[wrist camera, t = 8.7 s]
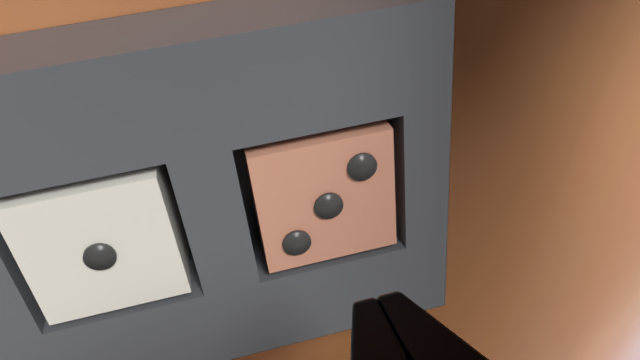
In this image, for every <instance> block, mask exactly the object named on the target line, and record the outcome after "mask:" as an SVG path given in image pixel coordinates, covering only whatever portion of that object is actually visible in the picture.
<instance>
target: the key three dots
mask: <svg viewBox="0 0 640 360" xmlns="http://www.w3.org/2000/svg"><path fill="white" fill-rule="evenodd" d="M242 150H243V155H244V160H245V165H246V170H247V175H248V180H249V185H250V190H251V195H252V200H253V205H254V210H255V215H256V220H257V225H258V229H259V233H260V237H261V241H262V245H263V250H264V254H265V258H266V262H267V266H268V270H269V274H270V273H274V272H278V271H282V270H286V269H291V268H295V267H299V266H303V265H308V264H312V263H316V262H320V261H325V260H329V259H333V258H337V257H342V256H346V255H350V254H354V253H359V252H363V251H367V250H371V249H376V248H380V247H384V246H388V245H393V244H397V236H396V203H395V170H394V136H393V128H392V127H391V125H390V124H389V123H388V122H387V120H381V121H376V122H371V123H366V124H361V125H356V126H351V127H346V128H341V129H336V130H331V131H326V132H321V133H316V134H311V135H307V136H302V137H297V138H292V139H287V140H282V141H277V142H272V143H267V144H262V145H257V146H252V147H247V148H242Z"/></svg>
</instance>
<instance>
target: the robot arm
mask: <svg viewBox="0 0 640 360" xmlns="http://www.w3.org/2000/svg"><path fill="white" fill-rule="evenodd" d="M351 360H489V359H487V358H486V357H485V356H483V355H482V354H481V353H479V352H478V351H477V350H476V349H474V348H473V347H472V346H470V345H469V344H468V343H466V342H465V341H464V340H463V339H461V338H460V337H459V336H457V335H456V334H455V333H453V332H452V331H451V330H450V329H448V328H447V327H446V326H444V325H443V324H442V323H440V322H439V321H438V320H437V319H435V318H434V317H433V316H431V315H430V314H429V313H427V312H426V311H425V310H424V309H422V308H421V307H420V306H418V305H417V304H416V303H414V302H413V301H412V300H411V299H409V298H408V297H407V296H405V295H404V294H403V293H401V292H399V291H395V292H391V293H387V294H383V295H379V296H378V297H377V299H375V298H373V297H371V298H367V299H363V300H359V301H356V302H354V303H353V306H352V332H351Z"/></svg>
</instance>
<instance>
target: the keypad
mask: <svg viewBox="0 0 640 360" xmlns="http://www.w3.org/2000/svg"><path fill="white" fill-rule="evenodd" d="M454 20H455V0H216V1H210V2H204V3H198V4H192V5H186V6H180V7H173V8H167V9H161V10H155V11H149V12H143V13H137V14H130V15H124V16H118V17H112V18H106V19H100V20H94V21H88V22H81V23H75V24H69V25H63V26H57V27H51V28H45V29H38V30H32V31H26V32H20V33H14V34H8V35H2V36H0V197H5V196H10V195H15V194H20V193H25V192H29V191H34V190H39V189H44V188H49V187H54V186H59V185H64V184H69V183H74V182H79V181H84V180H89V179H94V178H99V177H104V176H109V175H114V174H119V173H123V172H128V171H133V170H138V169H143V168H148V167H153V166H158V165H163V164H166V166H167V170H168V173H169V176H170V180H171V183H172V187H173V190H174V194H175V197H176V200H177V204H178V207H179V211H180V214H181V218H182V221H183V224H184V228H185V231H186V235H187V238H188V246H189V261H190V276H191V292H190V293H185V294H181V295H177V296H173V297H169V298H164V299H160V300H156V301H152V302H147V303H143V304H139V305H135V306H130V307H126V308H122V309H118V310H113V311H109V312H105V313H101V314H96V315H92V316H88V317H84V318H80V319H75V320H71V321H67V322H63V323H58V324H54V325H50V326H49V324H48V322H47V320H46V318H45V316H44V314H43V312H42V310H41V308H40V307H39V305H38V303H37V301H36V299H35V297H34V295H33V293H32V291H31V289H30V287H29V285H28V284H27V282H26V280H25V278H24V276H23V274H22V272H21V270H20V268H19V266H18V264H17V262H16V261H15V259H14V257H13V255H12V253H11V251H10V249H9V247H8V245H7V243H6V241H5V239H4V238H3V236H2V234H1V232H0V360H231V359H235V358H239V357H243V356H247V355H251V354H255V353H259V352H263V351H267V350H271V349H274V348H278V347H282V346H286V345H290V344H294V343H298V342H302V341H306V340H310V339H314V338H317V337H321V336H325V335H329V334H333V333H337V332H341V331H345V330H349V329H352V306H353V303H354V302H356V301H359V300H363V299H367V298H371V297H373V298H375V299H377V297H378V296H379V295H383V294H387V293H391V292H395V291H399V292H401V293H403V294H404V295H405V296H407V297H408V298H409V299H411V300H412V301H413V302H414V303H416V304H417V305H418V306H420V307H421V308H422V309H424V310H427V309H431V308H435V307H439V306H443V305H445V289H446V259H447V229H448V199H449V169H450V139H451V109H452V80H453V50H454ZM381 120H387V122H388V123H389V124H390V125H391V127H392V128H393V136H394V170H395V203H396V236H397V244H393V245H388V246H384V247H380V248H376V249H371V250H367V251H363V252H359V253H354V254H350V255H346V256H342V257H337V258H333V259H329V260H325V261H320V262H316V263H312V264H308V265H303V266H299V267H295V268H291V269H286V270H282V271H278V272H274V273H270V274H269V270H268V266H267V262H266V258H265V254H264V250H263V245H262V241H261V237H260V233H259V229H258V225H257V220H256V215H255V210H254V205H253V200H252V195H251V190H250V185H249V180H248V175H247V170H246V165H245V160H244V155H243V150H242V148H247V147H252V146H257V145H262V144H267V143H272V142H277V141H282V140H287V139H292V138H297V137H302V136H307V135H311V134H316V133H321V132H326V131H331V130H336V129H341V128H346V127H351V126H356V125H361V124H366V123H371V122H376V121H381Z"/></svg>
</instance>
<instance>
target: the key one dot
mask: <svg viewBox="0 0 640 360" xmlns="http://www.w3.org/2000/svg"><path fill="white" fill-rule="evenodd" d="M0 232H1V234H2V236H3V238H4V239H5V241H6V243H7V245H8V247H9V249H10V251H11V253H12V255H13V257H14V259H15V261H16V262H17V264H18V266H19V268H20V270H21V272H22V274H23V276H24V278H25V280H26V282H27V284H28V285H29V287H30V289H31V291H32V293H33V295H34V297H35V299H36V301H37V303H38V305H39V307H40V308H41V310H42V312H43V314H44V316H45V318H46V320H47V322H48V324H49V326H50V325H54V324H58V323H63V322H67V321H71V320H75V319H80V318H84V317H88V316H92V315H96V314H101V313H105V312H109V311H113V310H118V309H122V308H126V307H130V306H135V305H139V304H143V303H147V302H152V301H156V300H160V299H164V298H169V297H173V296H177V295H181V294H185V293H190V292H191V276H190V261H189V246H188V238H187V235H186V231H185V228H184V224H183V221H182V218H181V214H180V211H179V207H178V204H177V200H176V197H175V194H174V190H173V187H172V183H171V180H170V176H169V173H168V170H167V166H166V164H163V165H158V166H153V167H148V168H143V169H138V170H133V171H128V172H123V173H119V174H114V175H109V176H104V177H99V178H94V179H89V180H84V181H79V182H74V183H69V184H64V185H59V186H54V187H49V188H44V189H39V190H34V191H29V192H25V193H20V194H15V195H10V196H5V197H0Z"/></svg>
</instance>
